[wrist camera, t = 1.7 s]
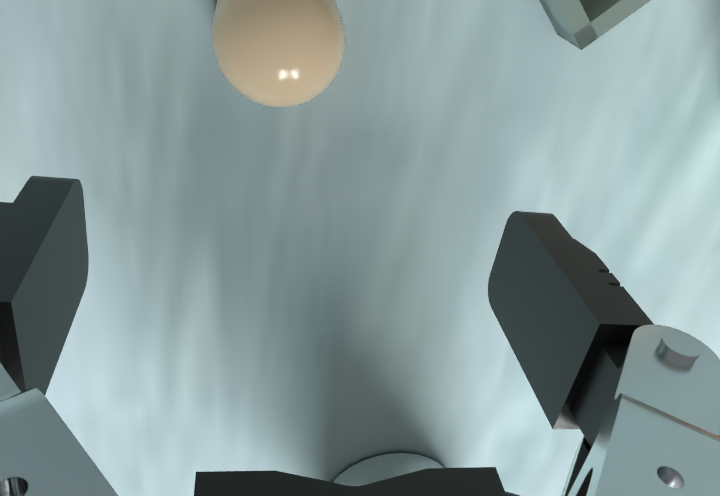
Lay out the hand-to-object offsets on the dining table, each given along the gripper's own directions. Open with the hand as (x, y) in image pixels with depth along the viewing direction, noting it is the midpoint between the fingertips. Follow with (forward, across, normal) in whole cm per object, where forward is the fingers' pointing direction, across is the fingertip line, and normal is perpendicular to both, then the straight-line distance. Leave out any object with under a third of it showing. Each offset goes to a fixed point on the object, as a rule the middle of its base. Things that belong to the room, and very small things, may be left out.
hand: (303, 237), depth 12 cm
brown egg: (+18, 0, 0) cm, 18 cm away
